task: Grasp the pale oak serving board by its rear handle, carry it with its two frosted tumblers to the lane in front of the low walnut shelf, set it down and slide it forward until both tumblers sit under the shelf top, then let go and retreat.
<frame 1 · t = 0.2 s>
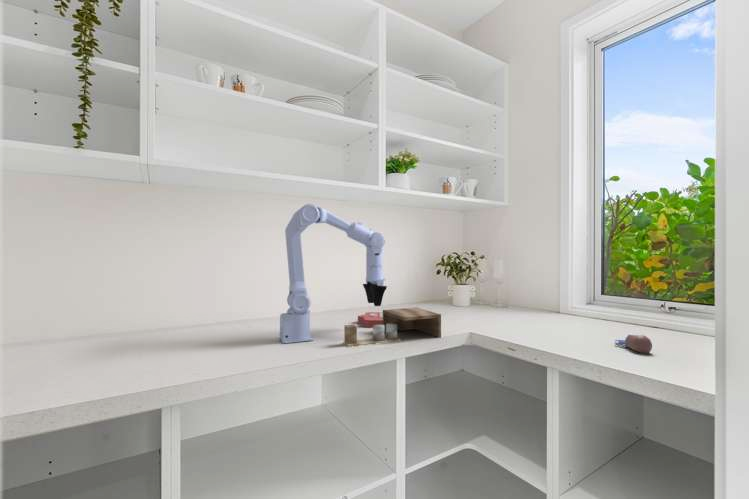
hand: (374, 304, 121), 10 cm above the worktop, tool pointing down, fingers open, 7 cm apart
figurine: (631, 350, 99), on the worktop
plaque: (376, 324, 137), on the worktop
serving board: (350, 345, 104), on the worktop
counter shelf: (410, 334, 117), on the worktop
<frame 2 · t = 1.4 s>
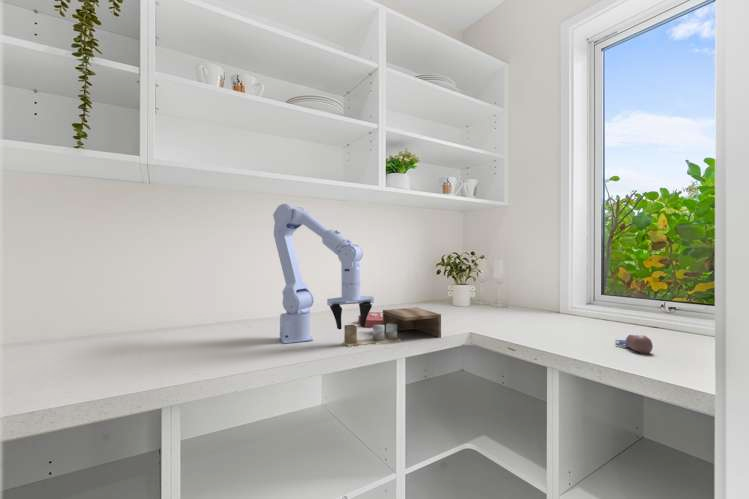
hand: (351, 327, 104), 5 cm above the worktop, tool pointing down, fingers open, 7 cm apart
nothing on the worktop moved.
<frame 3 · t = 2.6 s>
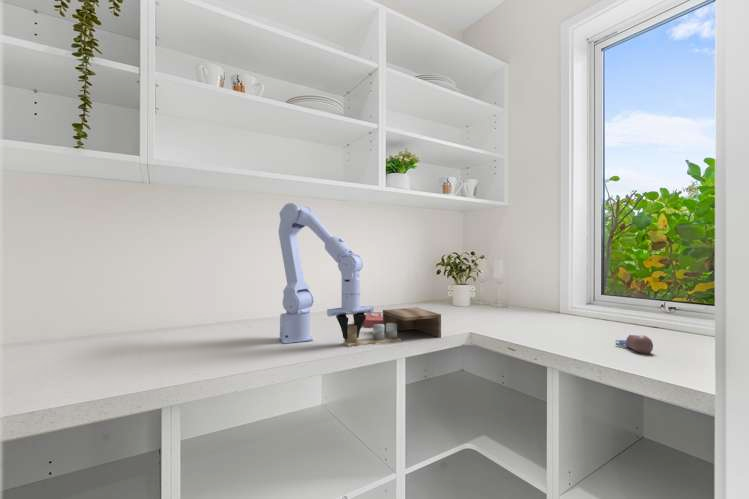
hand: (350, 337, 104), 2 cm above the worktop, tool pointing down, fingers closed on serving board, 3 cm apart
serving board: (350, 344, 104), on the worktop, touching gripper
everything else where it was.
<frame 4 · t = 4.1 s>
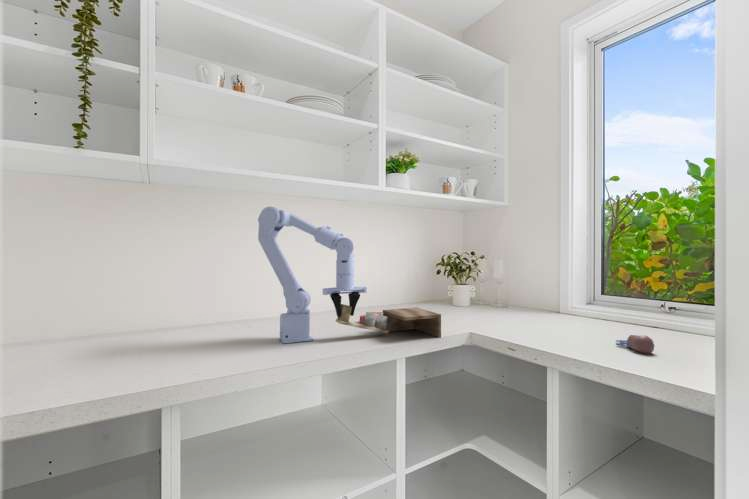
hand: (345, 315, 111), 8 cm above the worktop, tool pointing down, fingers closed on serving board, 4 cm apart
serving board: (342, 323, 111), point 5 cm above the worktop, tilted 15°, touching gripper
everything else where it was.
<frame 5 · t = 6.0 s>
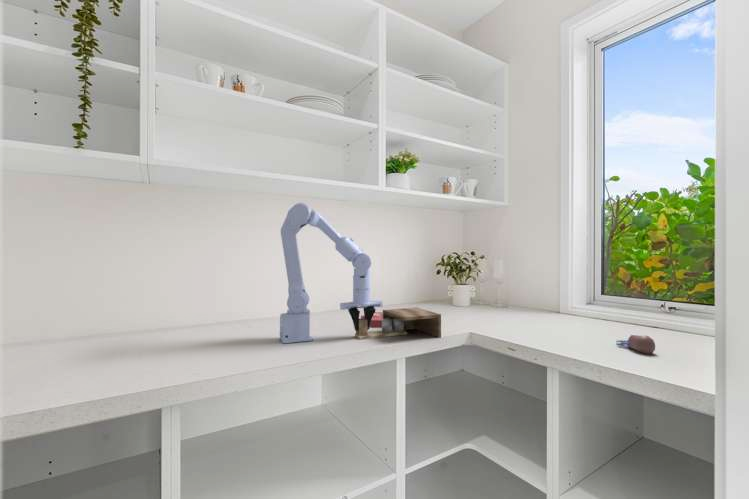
hand: (361, 329, 113), 3 cm above the worktop, tool pointing down, fingers closed on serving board, 3 cm apart
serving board: (361, 337, 113), on the worktop, touching gripper
when the fingers open (2 cm above the worktop, at t = 6.9 s): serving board stays where it is, on the worktop.
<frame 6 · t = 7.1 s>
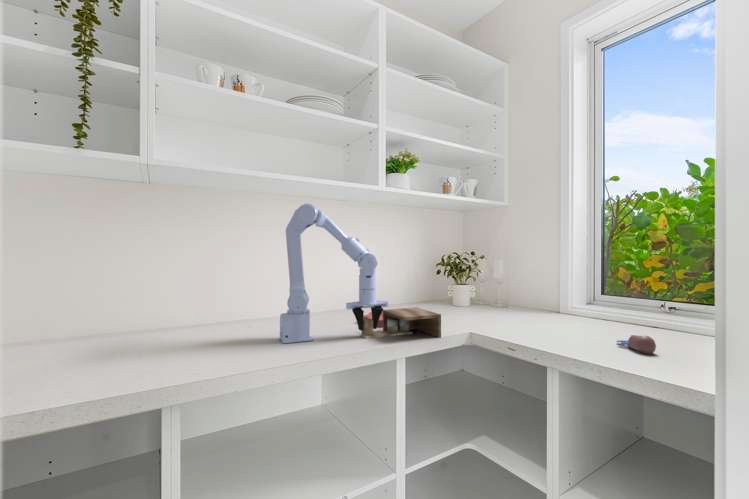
hand: (367, 329, 114), 2 cm above the worktop, tool pointing down, fingers open, 4 cm apart
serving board: (367, 337, 114), on the worktop
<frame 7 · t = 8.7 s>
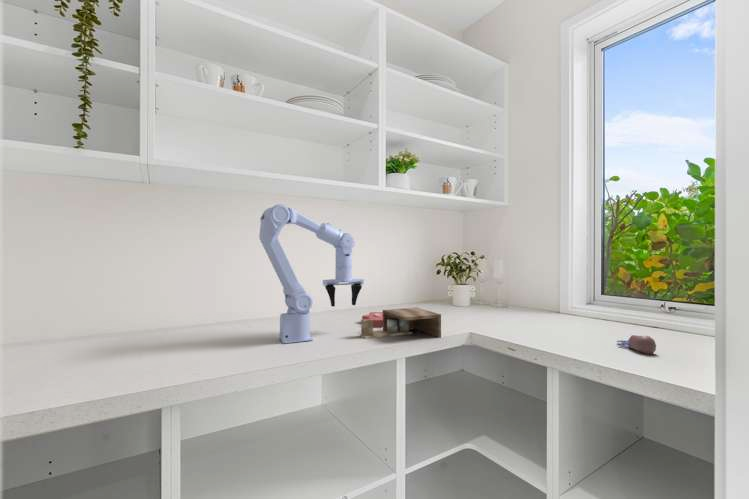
hand: (343, 305, 120), 10 cm above the worktop, tool pointing down, fingers open, 7 cm apart
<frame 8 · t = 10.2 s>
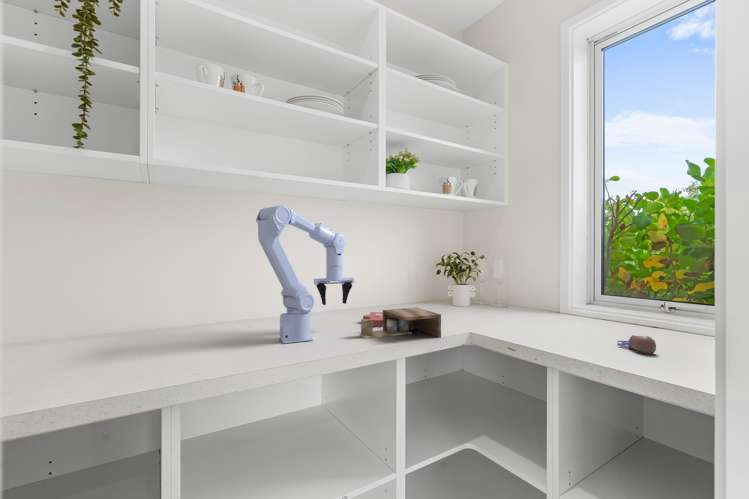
hand: (334, 303, 122), 10 cm above the worktop, tool pointing down, fingers open, 7 cm apart
at the end: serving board inside the target area on the worktop beside the counter shelf (2.6 cm from its centre), on the worktop; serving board tilted 0°; the gripper is holding nothing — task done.
